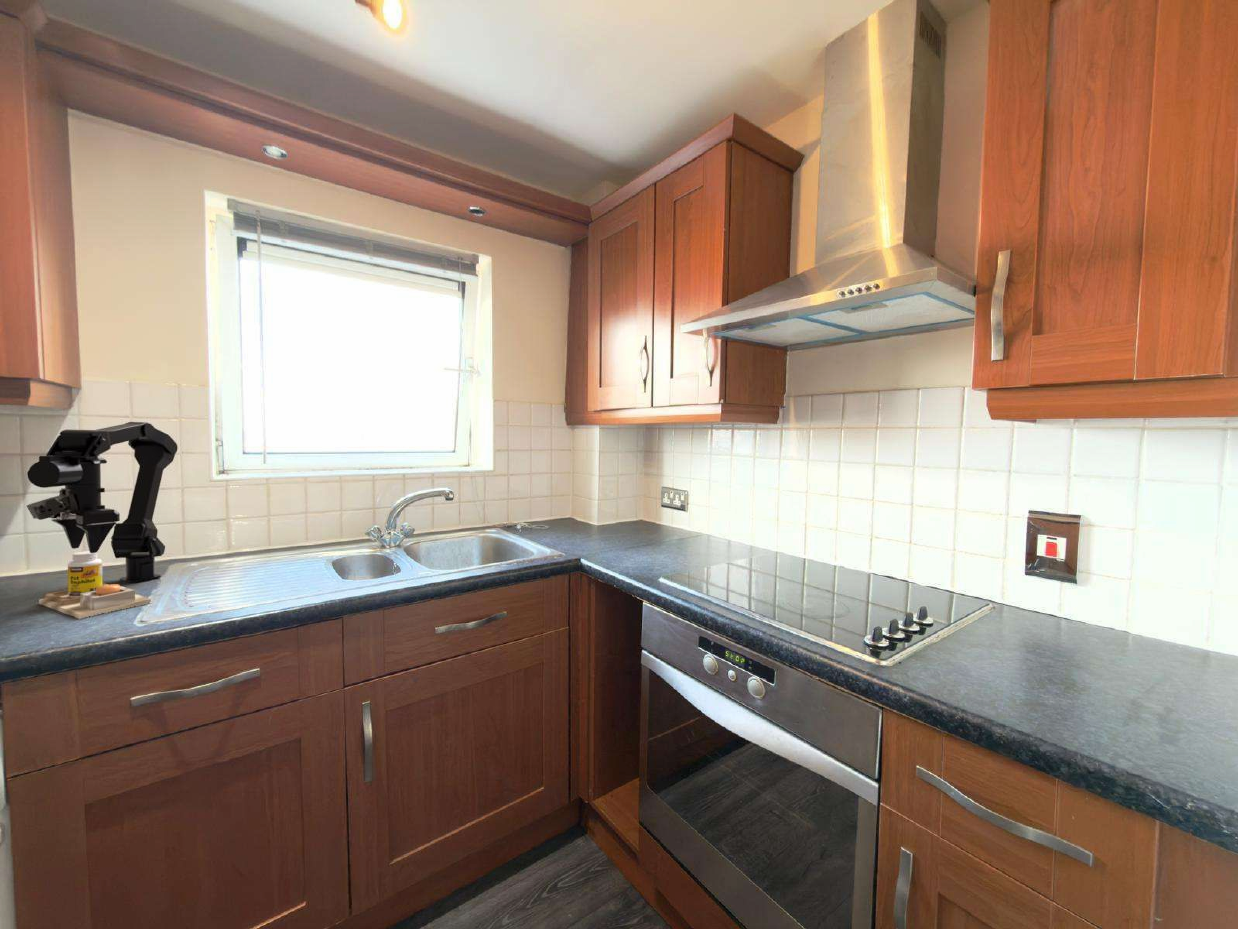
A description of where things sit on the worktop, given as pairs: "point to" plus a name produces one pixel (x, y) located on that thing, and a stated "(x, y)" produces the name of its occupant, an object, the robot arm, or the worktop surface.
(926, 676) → the worktop surface
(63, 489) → the robot arm
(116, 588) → the button
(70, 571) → the supplement bottle
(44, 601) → the pallet
